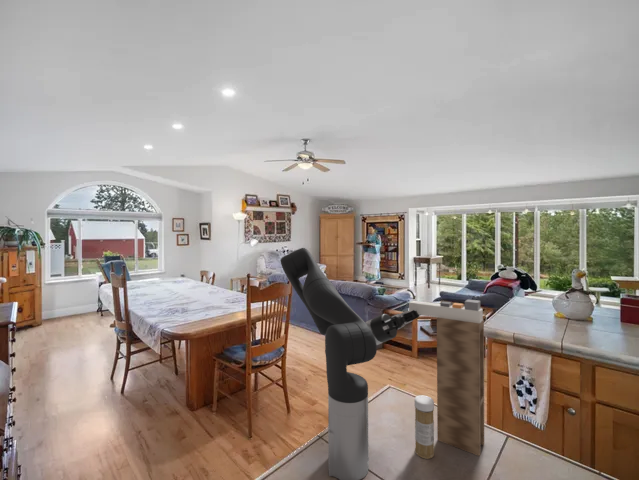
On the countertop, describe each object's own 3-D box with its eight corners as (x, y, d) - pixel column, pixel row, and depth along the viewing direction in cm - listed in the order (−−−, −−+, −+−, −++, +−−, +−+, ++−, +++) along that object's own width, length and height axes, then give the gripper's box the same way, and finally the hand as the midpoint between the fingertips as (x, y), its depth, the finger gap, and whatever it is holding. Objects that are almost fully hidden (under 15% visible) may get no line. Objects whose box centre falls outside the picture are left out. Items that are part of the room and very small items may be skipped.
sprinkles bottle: (421, 444, 80) (421, 392, 80) (438, 454, 76) (437, 399, 76) (411, 452, 77) (410, 398, 77) (427, 462, 73) (427, 406, 73)
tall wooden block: (437, 440, 82) (436, 318, 82) (444, 429, 86) (443, 313, 86) (479, 456, 76) (478, 324, 75) (484, 443, 80) (483, 319, 80)
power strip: (409, 313, 87) (409, 295, 87) (413, 310, 90) (413, 293, 90) (479, 323, 76) (479, 303, 76) (482, 320, 79) (482, 300, 79)
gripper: (360, 324, 91) (406, 302, 82) (382, 314, 102) (424, 294, 94) (372, 349, 89) (420, 328, 80) (393, 336, 100) (437, 317, 91)
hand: (422, 310), depth 87 cm, fingers open, 8 cm apart
